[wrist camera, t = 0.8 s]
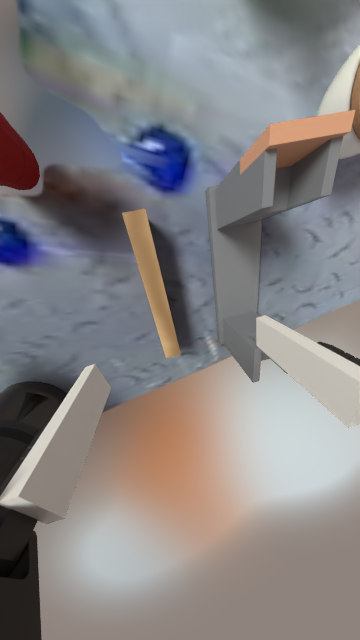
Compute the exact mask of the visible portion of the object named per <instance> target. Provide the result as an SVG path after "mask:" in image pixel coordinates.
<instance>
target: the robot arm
mask: <svg viewBox="0 0 360 640" xmlns="http://www.w3.org/2000/svg"><path fill="white" fill-rule="evenodd" d="M256 345H257V346H258V347H259V348H260V349H261V350H262V351H263V352H264V353H265V354H267V355H268V356H269V357H270V358H271V359H272V360H273V361H274V362H276V363H277V364H278V365H279V366H280V367H281V368H282V369H283V370H284V371H286V372H287V373H288V374H289V375H290V376H291V377H292V378H293V379H295V380H296V381H297V382H298V383H299V384H300V385H301V386H302V387H304V388H305V389H306V390H307V391H308V392H309V393H310V394H311V395H312V396H314V397H315V398H316V399H317V400H318V401H319V402H320V403H321V404H322V405H324V406H325V407H326V408H327V409H328V410H329V411H330V412H332V413H333V414H334V415H335V416H336V417H337V418H338V419H339V420H340V421H342V422H343V423H344V424H345V425H346V426H347V427H348V428H349V427H352V426H355V425H358V424H360V359H358V358H355V357H354V356H352V355H350V354H348V353H345V352H344V351H342V350H340V349H338V348H336V347H334V346H332V345H329V344H326V343H322V342H318V343H315V342H314V341H312V340H310V339H308V338H307V337H305V336H303V335H301V334H299V333H297V332H295V331H294V330H292V329H290V328H288V327H286V326H284V325H282V324H281V323H279V322H277V321H275V320H273V319H271V318H269V317H268V316H266V315H264V316H261V317H258V318H256ZM110 390H111V387H110V386H109V384H108V383H107V381H106V380H105V378H104V377H103V375H102V374H101V372H100V371H99V369H98V368H97V366H96V365H95V364H94V365H91V366H87V367H85V368H84V370H83V371H82V373H81V375H80V376H79V378H78V379H77V381H76V382H75V384H74V385H73V387H72V388H71V390H70V391H69V393H68V394H67V395H66V394H65V393H64V392H63V391H61V390H60V389H58V388H56V387H54V386H51V385H48V384H44V383H38V382H23V383H17V384H14V385H11V386H9V387H8V388H6V389H5V390H4V391H2V392H1V393H0V640H41V621H40V597H39V574H38V551H37V535H36V532H35V531H33V529H34V527H35V525H36V523H37V521H41V522H43V523H45V524H49V523H52V522H55V521H58V520H61V519H64V518H65V516H66V513H67V510H68V507H69V504H70V501H71V499H72V496H73V493H74V491H75V488H76V485H77V482H78V479H79V477H80V474H81V471H82V468H83V465H84V463H85V460H86V457H87V454H88V451H89V449H90V446H91V443H92V440H93V437H94V435H95V432H96V429H97V426H98V423H99V420H100V418H101V415H102V412H103V409H104V406H105V404H106V401H107V398H108V395H109V392H110Z"/></svg>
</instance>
